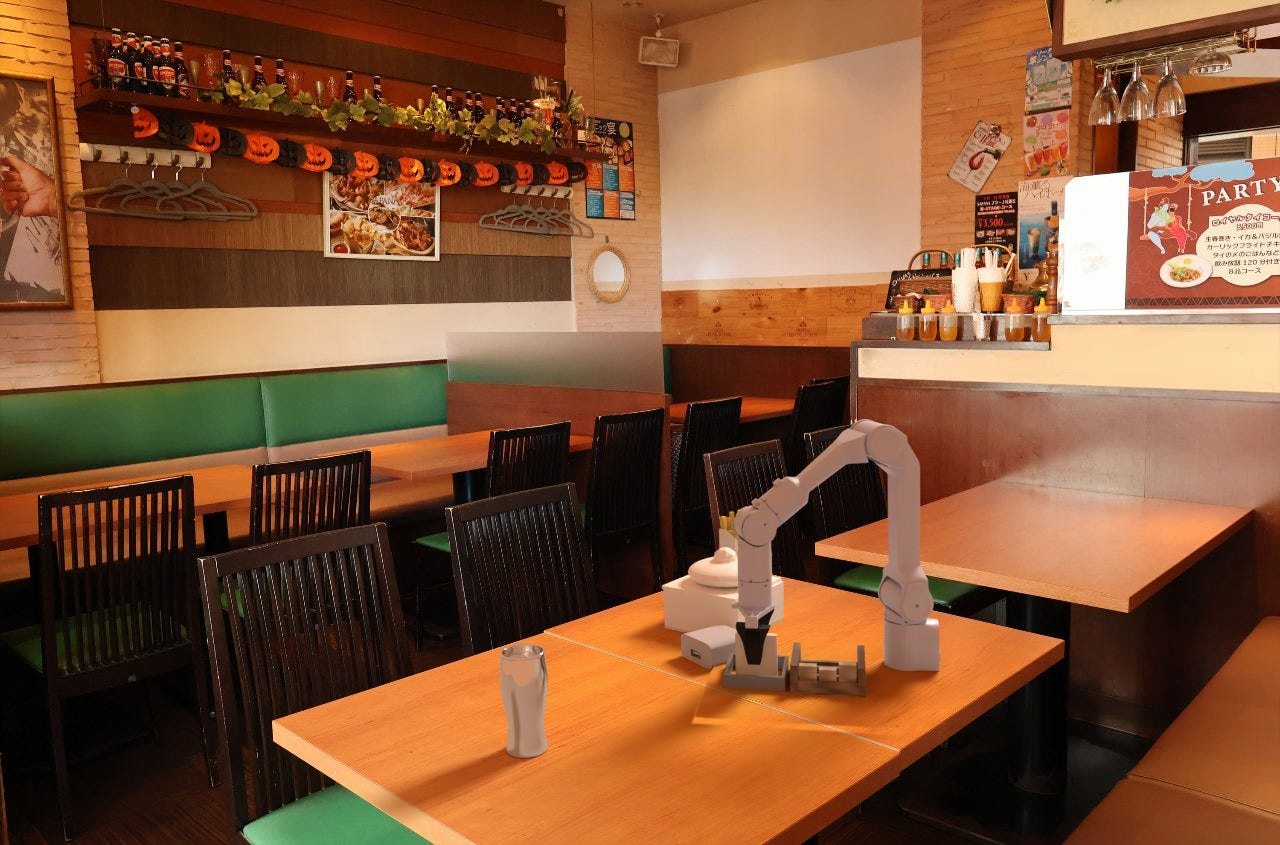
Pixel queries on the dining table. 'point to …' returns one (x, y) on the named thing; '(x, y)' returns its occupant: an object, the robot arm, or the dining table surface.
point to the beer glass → (524, 698)
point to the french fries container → (728, 533)
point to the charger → (709, 645)
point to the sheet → (767, 663)
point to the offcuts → (829, 672)
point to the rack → (827, 686)
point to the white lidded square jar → (711, 595)
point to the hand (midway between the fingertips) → (756, 655)
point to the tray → (755, 677)
